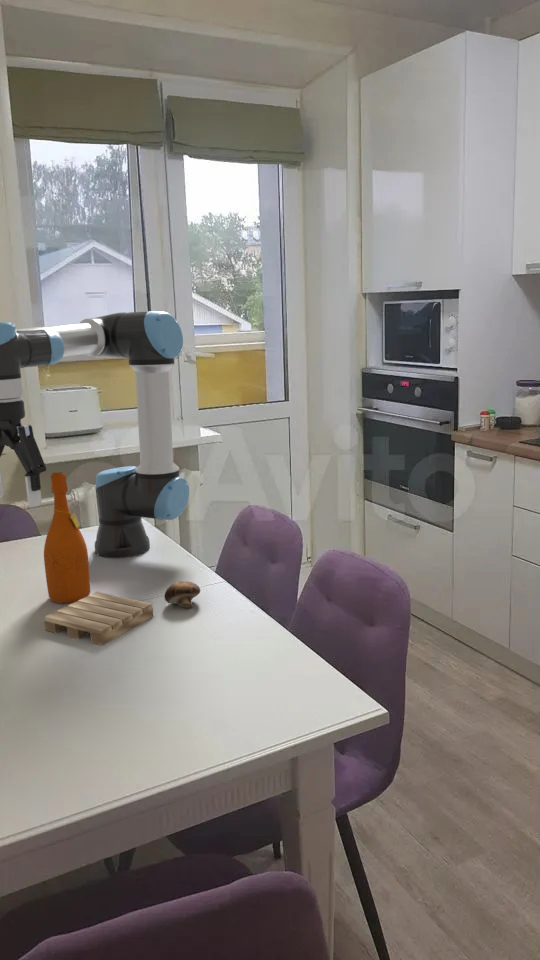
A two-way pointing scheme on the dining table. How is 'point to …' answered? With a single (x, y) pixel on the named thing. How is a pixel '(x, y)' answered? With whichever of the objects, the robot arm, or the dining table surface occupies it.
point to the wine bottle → (65, 550)
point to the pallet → (99, 617)
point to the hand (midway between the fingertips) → (15, 501)
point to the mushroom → (182, 593)
